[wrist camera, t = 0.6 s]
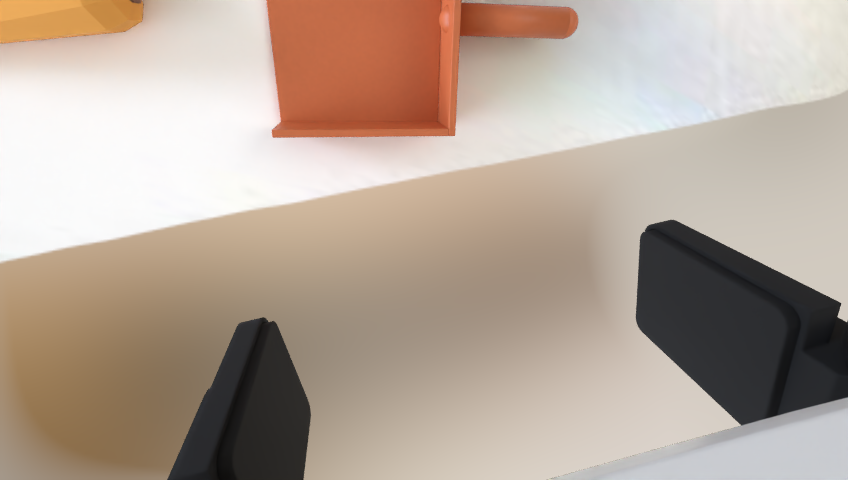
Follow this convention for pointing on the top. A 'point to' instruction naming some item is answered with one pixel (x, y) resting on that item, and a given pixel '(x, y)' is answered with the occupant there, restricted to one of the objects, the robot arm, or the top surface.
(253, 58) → the top surface
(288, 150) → the top surface
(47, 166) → the top surface
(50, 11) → the carrot
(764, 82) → the top surface
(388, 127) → the dustpan
